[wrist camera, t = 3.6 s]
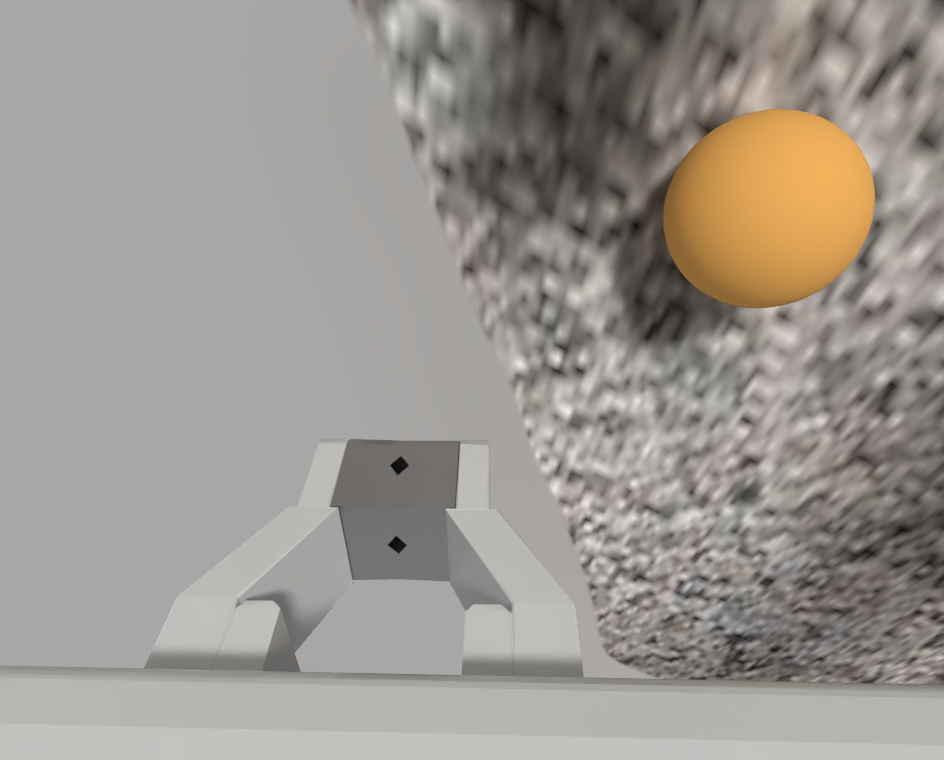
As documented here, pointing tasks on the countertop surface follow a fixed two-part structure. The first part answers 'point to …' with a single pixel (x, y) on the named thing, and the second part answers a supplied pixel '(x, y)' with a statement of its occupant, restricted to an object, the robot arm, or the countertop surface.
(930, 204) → the countertop surface
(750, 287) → the ball
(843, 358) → the countertop surface
